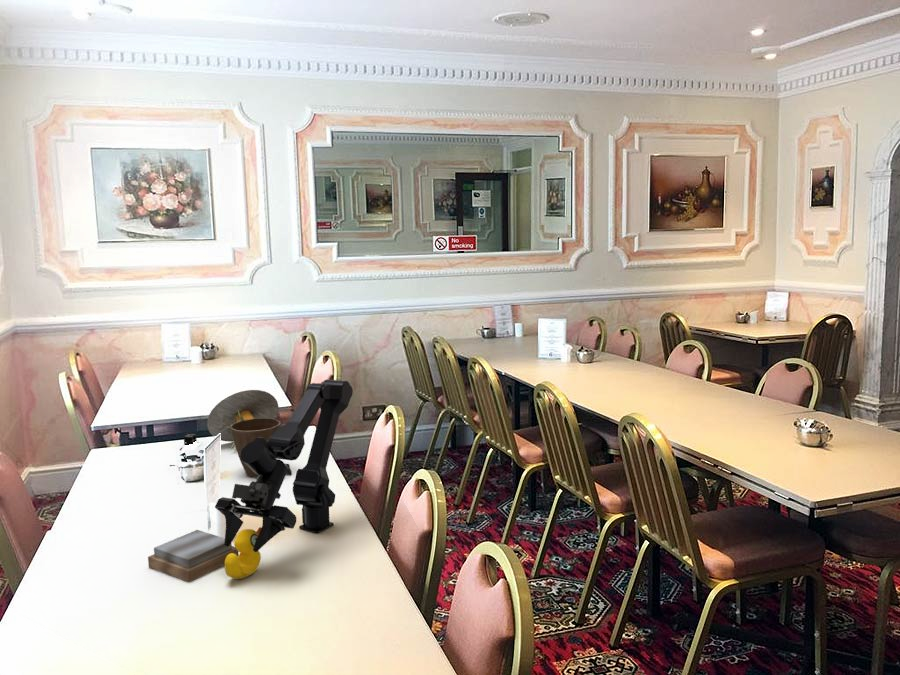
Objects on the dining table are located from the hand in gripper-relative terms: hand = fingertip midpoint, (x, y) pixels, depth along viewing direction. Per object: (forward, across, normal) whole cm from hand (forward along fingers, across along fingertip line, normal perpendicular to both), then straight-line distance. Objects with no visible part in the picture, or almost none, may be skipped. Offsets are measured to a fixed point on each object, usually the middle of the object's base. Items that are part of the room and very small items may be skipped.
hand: (240, 548), depth 166 cm
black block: (-49, -82, +59) cm, 112 cm away
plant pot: (-37, -40, +47) cm, 72 cm away
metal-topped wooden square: (+3, -15, +6) cm, 17 cm away
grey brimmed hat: (-53, -63, +63) cm, 103 cm away
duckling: (+4, 0, +6) cm, 7 cm away
